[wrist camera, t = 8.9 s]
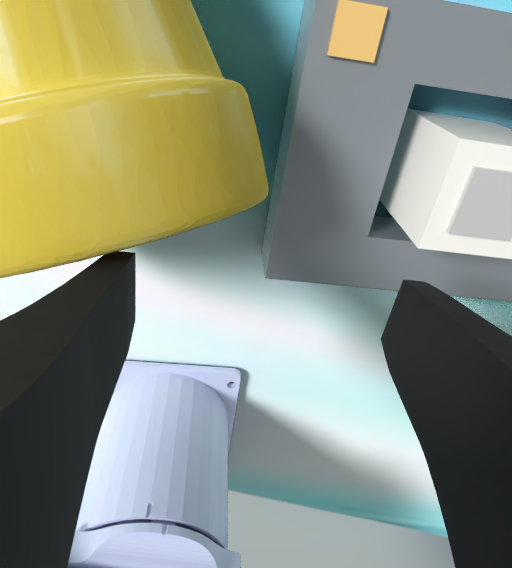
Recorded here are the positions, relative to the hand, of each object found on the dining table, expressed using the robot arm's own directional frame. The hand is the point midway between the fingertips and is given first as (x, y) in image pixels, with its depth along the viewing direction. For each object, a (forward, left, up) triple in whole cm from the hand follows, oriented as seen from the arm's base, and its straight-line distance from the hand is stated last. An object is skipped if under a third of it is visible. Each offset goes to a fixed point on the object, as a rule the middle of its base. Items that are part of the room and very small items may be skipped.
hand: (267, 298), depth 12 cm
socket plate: (+2, -8, -9) cm, 13 cm away
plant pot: (+9, +8, -6) cm, 13 cm away
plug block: (+2, -8, -10) cm, 13 cm away
